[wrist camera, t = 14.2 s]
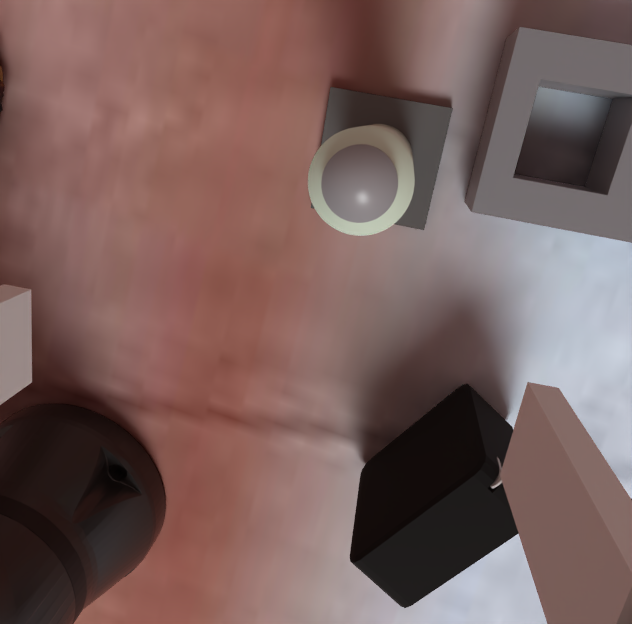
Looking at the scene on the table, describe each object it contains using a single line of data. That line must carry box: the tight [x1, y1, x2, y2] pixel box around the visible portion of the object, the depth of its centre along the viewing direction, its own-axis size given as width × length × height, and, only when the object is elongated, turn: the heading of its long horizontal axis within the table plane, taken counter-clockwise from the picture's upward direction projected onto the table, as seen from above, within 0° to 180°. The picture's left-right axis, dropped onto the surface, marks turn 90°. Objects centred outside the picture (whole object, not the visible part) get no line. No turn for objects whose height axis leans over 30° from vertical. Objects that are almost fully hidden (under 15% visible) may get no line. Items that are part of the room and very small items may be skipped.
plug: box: [308, 124, 415, 236], centre depth 27 cm, size 4×4×14 cm
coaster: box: [311, 87, 453, 230], centre depth 34 cm, size 7×7×1 cm
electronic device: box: [350, 384, 518, 608], centre depth 35 cm, size 4×10×10 cm, turn 137°
